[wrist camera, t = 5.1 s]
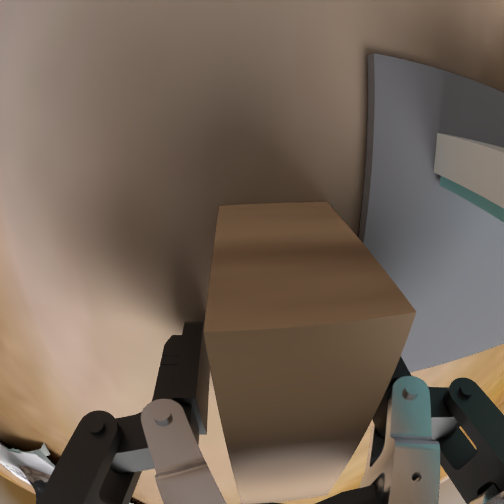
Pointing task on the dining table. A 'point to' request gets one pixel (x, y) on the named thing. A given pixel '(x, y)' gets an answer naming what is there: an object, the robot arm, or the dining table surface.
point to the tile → (472, 171)
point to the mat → (432, 208)
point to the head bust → (29, 466)
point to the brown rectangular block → (297, 344)
